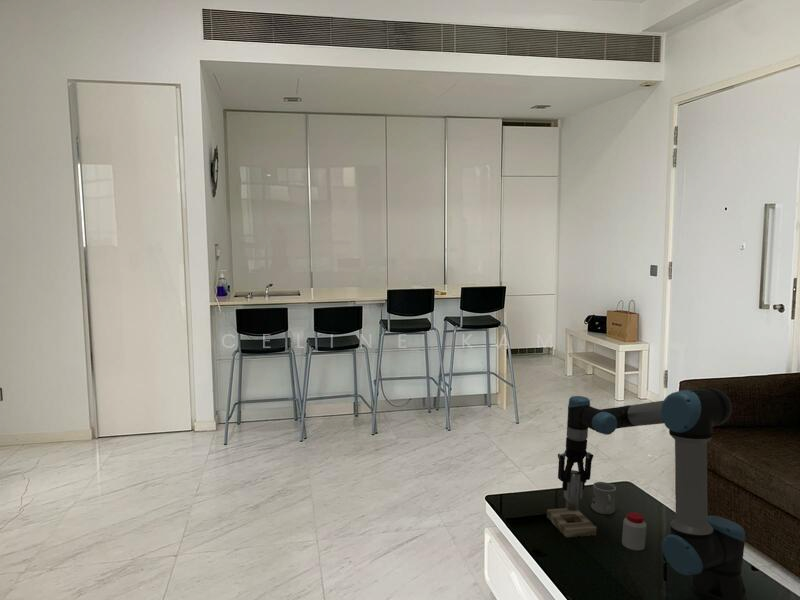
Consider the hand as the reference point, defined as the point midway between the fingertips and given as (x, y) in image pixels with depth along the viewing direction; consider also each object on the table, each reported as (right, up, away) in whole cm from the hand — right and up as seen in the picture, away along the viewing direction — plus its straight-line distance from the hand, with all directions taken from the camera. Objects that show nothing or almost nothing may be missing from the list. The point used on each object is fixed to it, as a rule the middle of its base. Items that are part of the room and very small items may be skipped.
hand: (572, 497), depth 224 cm
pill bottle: (+18, -13, -11) cm, 25 cm away
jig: (0, -11, +1) cm, 11 cm away
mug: (+17, -10, +14) cm, 24 cm away
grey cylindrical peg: (0, -4, +1) cm, 4 cm away
